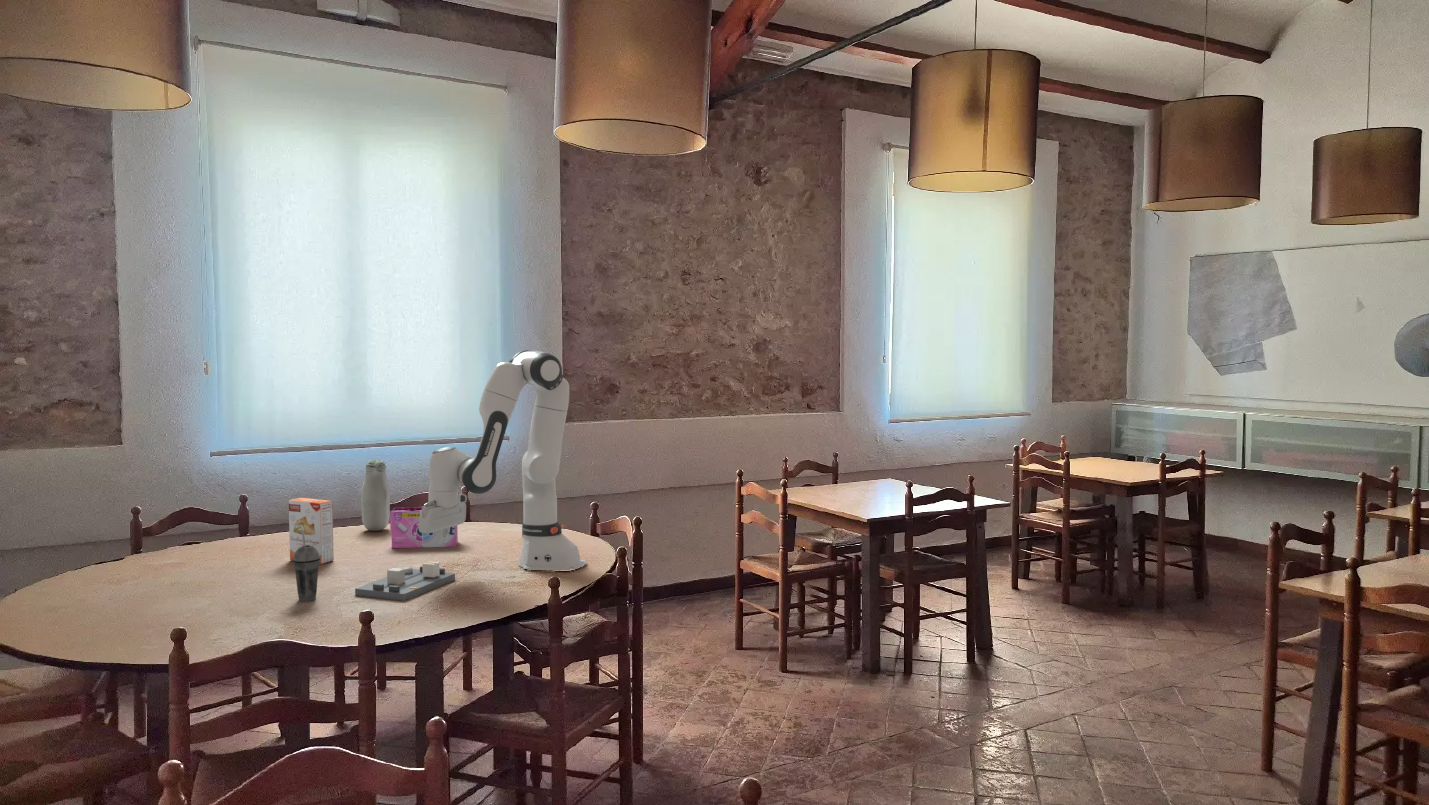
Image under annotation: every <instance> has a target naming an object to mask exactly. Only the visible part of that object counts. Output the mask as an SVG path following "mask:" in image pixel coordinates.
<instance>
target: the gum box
mask: <svg viewBox="0 0 1429 805" xmlns="http://www.w3.org/2000/svg"><path fill="white" fill-rule="evenodd" d="M422 507H423V506H418V507H417V506H415V507H412V506H411V507H407V506H406V507H403V506H402V507H394V508H392V510H390V515H389V516H388V517H389V523H390V524H389V526H390V535H391V536H390V537H391V549H410V548H413V549H414V548H445V547H449V548H451V547H456V546H457V545H458V541H459V540H458V537H459V536H458V532H459V531H458V525H456V526H452V527H450V531H449V534H448V536H447V542H444V543H437V537H436V534H435V532H432V533H421V532H420V531H419V518H420V512H421V510H422Z"/></svg>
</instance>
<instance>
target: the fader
mask: <svg viewBox="0 0 1429 805" xmlns="http://www.w3.org/2000/svg"><path fill="white" fill-rule="evenodd" d="M421 566H422V573H423V577H433V578H434V577H436V576H439V575H440V572H439V568H440V562H437V561H429V560H428V561H426V562H424V563H422V564H421Z"/></svg>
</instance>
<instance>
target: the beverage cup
mask: <svg viewBox="0 0 1429 805" xmlns="http://www.w3.org/2000/svg"><path fill="white" fill-rule="evenodd" d="M302 537H303V546H302V547H300V548H299V549H297V551H296V552H295V554H294V557H293V560H292V562H293V568H294V571H295V572H294V573H295V580H296V590H297V596H298V601H299V602H312V601H315V600H316V599H317V590H318V579H319V577H318V576H319V566H320V564H319V563H320V556H319V552H318V551H317V549H316V548H314V547H313V546H310V545H306V546H305V537H304V531H302Z"/></svg>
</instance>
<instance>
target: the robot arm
mask: <svg viewBox="0 0 1429 805" xmlns="http://www.w3.org/2000/svg"><path fill="white" fill-rule="evenodd" d="M527 385H532V386H534V387H535V390H536V398H535V401H534V407H533V411H532V416H531V421H530V428H529V436H528V445H527V451H525V453H524V454H523V456H522V457H521V458H522V459H521V475H522V476H521V478H522V483H521V484H522V499H523V500H522V501H523V511H522V512H523V522H522V524H521V533H522V534H521V538H522V545H521V546H522V548H521V554H520V558H519V561H518V566H519V567H521V568H523V570H524V569H529V570H528V571H531V570H570V569H577V568H580V567H582V566H583V565H585V564H586V565H587V560H586V559H581V557H580V550H579V548H578V545H577V544H575V543H574V542H572V540H570V539H569V538H568V537H567V536H566V535H564V534H563V533H562V529H565V527H564V526H565V525H564V524H562V525H561V524H560V523H559V522H558V498H557V496H558V495H557V488H556V486H557V484H556V478H557V477H558V474H559V471H560V464H561V457H562V447H563V439H564V438H563V437H564V430H565V426H566V421H567V420H566V419H567V416H568V410H569V404H570V383H569V382H568V380H567V379H566V378H564V375H563V366H562V364H561V362H560V360H559V359H558V358H557V357H556V356H555V355H553V354H551V353H548V352H544V351H540V350H523V351H522V350H521V351H519V352H517V353H516V354H514V356H513V357H512V358H511V359H510V360H508V361H502V362H499V363H498V364H497V365H496V366H495V367H494V369H493V370H492V372H491V373H490V375H489V378H488V379H487V382H486V384H485V385H484V388H483V392H482V393H481V397H480V402H479V406H478V407H479V408H478V411H479V415H480V416H481V420H482V422H483V433H482V437H481V439H480V442H479V445H478V449H477V452H476V455H475V456H471V455H469V454H466V453H464V452H462V451H461V450H459V449H458V448H456V447H455V446H445V447H439V448H437V449H435V450H433V452H432V453H431V455H430V459H429V468H428V469H429V470H428V478H429V481H430V482H429V486H428V498H427V499H428V502H426V503H424V505H423V506H421V507H422V510H421V512H420V518H419V531H420V532H421V533H432V532H435V534H436V537H437V543H444V542H447V536H448V534H449V531H450V527H452V526H456V525H457V526H459V525H462V524H464V523H465V521H466V519H467V518H466V517H467V504H466V502H467V500H468V496H467V494H463V493H460V492H459V487H465V488H466V490H468V491H469V492H470V493H471V494H472V493H473V494H476V495H477V494H479V495H481V494H484V493H487V492H488V491H491V489H492V488H493V487H494V485H495V484H496V481H497V460H498V457H499V453H500V450H501V448H502V444H503V440H504V438H505V434H506V430H507V428H508V425H509V422H510V420H511V418H512V415H513V413H514V411H515V408H516V406H517V402H518V401H519V397H520V394H521V392H522V389H523V388H524V387H525V386H527ZM586 565H585V566H586ZM582 568H583V567H582ZM580 569H581V568H580Z"/></svg>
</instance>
